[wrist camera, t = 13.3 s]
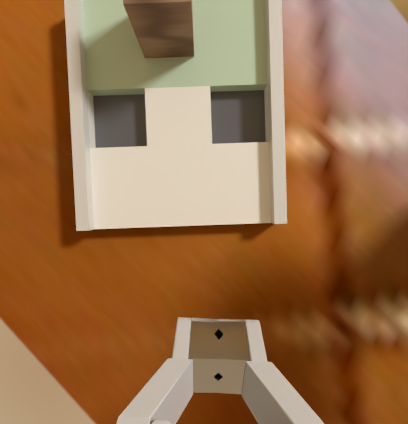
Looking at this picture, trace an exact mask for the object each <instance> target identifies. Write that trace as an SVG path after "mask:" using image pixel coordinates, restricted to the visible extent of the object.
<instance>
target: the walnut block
mask: <svg viewBox="0 0 408 424" xmlns="http://www.w3.org/2000/svg"><path fill="white" fill-rule="evenodd" d="M123 5H124V7H125V10H126V12H127V15H128V17H129V20H130V22H131V25H132V27H133V30H134V32H135V35H136V37H137V40H138V42H139V45H140V47H141V50H142V52H143V55H144V57H145V58H167V57H194V37H193V11H192V0H123Z"/></svg>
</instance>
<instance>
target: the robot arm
mask: <svg viewBox="0 0 408 424" xmlns="http://www.w3.org/2000/svg"><path fill="white" fill-rule="evenodd" d="M193 393H228V394H242V397H243V399H244V401H245V402H246V404H247V406H248V407H249V409H250V411H251V413H252V414H253V416H254V418H255V419H256V421H257V423H258V424H324V423H323V422H322V420H321V419H320V418H319V417H318V416H317V414H316V413H315V412H314V411H313V410H312V409H311V407H310V406H309V405H308V404H307V403H306V402H305V400H304V399H303V398H302V397H301V396H300V395H299V393H298V392H297V391H296V390H295V389H294V388H293V386H292V385H291V384H290V383H289V382H288V380H287V379H286V378H285V377H284V376H283V375H282V373H281V372H280V371H279V370H278V369H277V368H276V366H275V365H274V364H273V363H272V362H267V357H266V352H265V347H264V341H263V336H262V331H261V326H260V322H259V320H244V319H204V318H184V317H178V320H177V325H176V332H175V339H174V346H173V353H172V358H168V359H167V360H166V361H165V362H164V363H163V364H162V366H161V367H160V368H159V369H158V370H157V372H156V373H155V374H154V375H153V376H152V378H151V379H150V380H149V381H148V382H147V384H146V385H145V386H144V387H143V388H142V390H141V391H140V392H139V393H138V394H137V395H136V397H135V398H134V399H133V400H132V401H131V403H130V404H129V405H128V406H127V407H126V409H125V410H124V411H123V412H122V413H121V415H120V416H119V417H118V420H117V424H176V423H177V421H178V419H179V417H180V416H181V414H182V412H183V411H184V409H185V407H186V406H187V404H188V402H189V400H190V399H191V397H192V395H193Z"/></svg>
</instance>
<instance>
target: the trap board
mask: <svg viewBox="0 0 408 424" xmlns="http://www.w3.org/2000/svg"><path fill="white" fill-rule="evenodd" d="M64 6H65V25H66V44H67V63H68V82H69V101H70V120H71V139H72V158H73V177H74V196H75V215H76V231H89V230H93V229H116V228H144V227H172V226H200V225H227V224H255V223H273V224H285V223H287V200H286V160H285V119H284V78H283V38H282V0H192V11H193V37H194V57H167V58H145V57H144V55H143V52H142V50H141V47H140V45H139V42H138V40H137V37H136V35H135V32H134V30H133V27H132V25H131V22H130V20H129V17H128V15H127V12H126V10H125V7H124V5H123V0H64Z"/></svg>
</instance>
